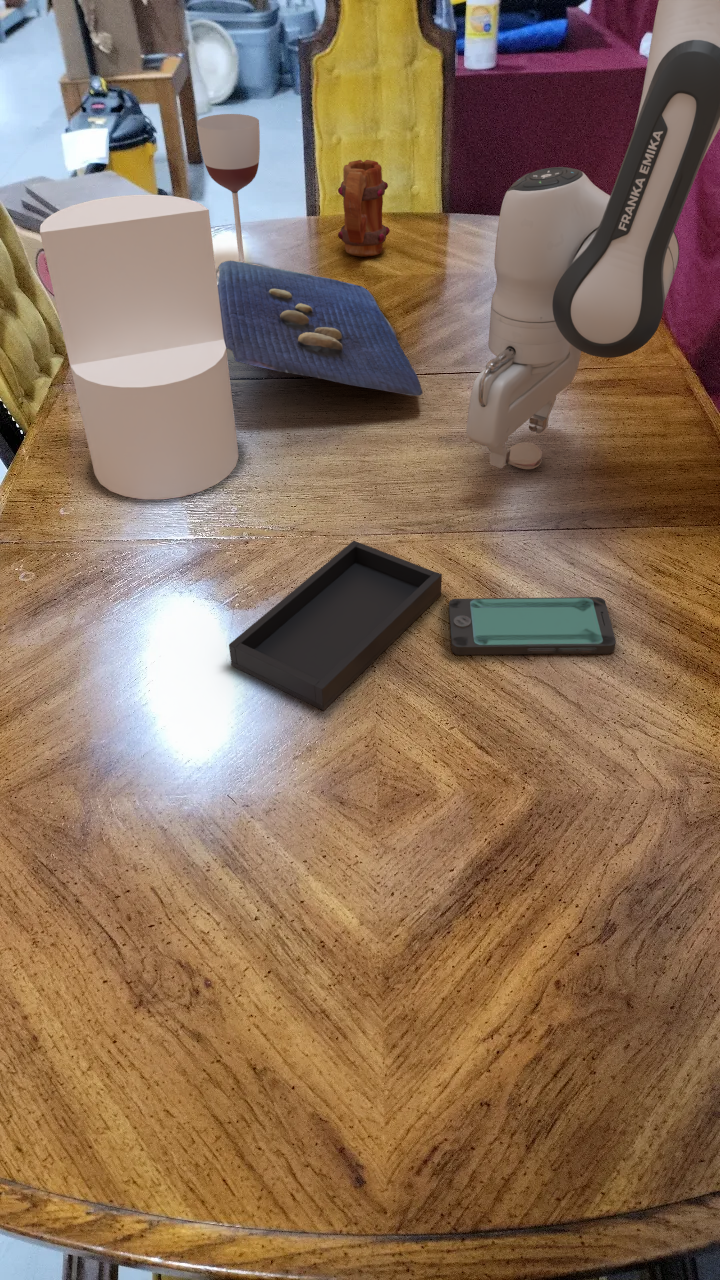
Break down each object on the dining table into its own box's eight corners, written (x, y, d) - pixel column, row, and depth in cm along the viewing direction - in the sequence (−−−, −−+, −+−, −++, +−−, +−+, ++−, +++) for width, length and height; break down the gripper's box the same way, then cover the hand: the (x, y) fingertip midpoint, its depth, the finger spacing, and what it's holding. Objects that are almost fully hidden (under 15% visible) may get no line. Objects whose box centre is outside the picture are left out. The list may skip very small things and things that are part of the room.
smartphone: (448, 597, 96) (604, 595, 96) (448, 607, 97) (602, 605, 97) (452, 646, 91) (617, 645, 90) (452, 657, 91) (615, 655, 91)
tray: (441, 595, 98) (442, 574, 97) (323, 711, 86) (322, 689, 85) (354, 560, 103) (353, 540, 101) (231, 665, 91) (228, 644, 89)
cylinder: (84, 441, 124) (31, 207, 105) (219, 415, 128) (190, 186, 110) (106, 512, 111) (50, 261, 93) (255, 481, 115) (229, 235, 97)
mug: (347, 242, 176) (344, 150, 166) (392, 244, 174) (392, 152, 165) (328, 272, 165) (324, 176, 155) (376, 275, 164) (375, 178, 154)
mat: (195, 317, 158) (206, 243, 151) (359, 347, 165) (376, 278, 159) (210, 437, 122) (225, 347, 116) (419, 469, 130) (444, 386, 124)
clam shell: (544, 473, 115) (546, 454, 114) (502, 476, 115) (503, 457, 113) (535, 454, 119) (537, 436, 117) (494, 457, 118) (496, 439, 117)
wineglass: (246, 258, 171) (232, 110, 156) (282, 273, 165) (271, 121, 150) (202, 272, 166) (184, 121, 151) (239, 288, 160) (223, 133, 146)
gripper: (510, 376, 98) (499, 495, 107) (597, 307, 111) (581, 418, 120) (455, 361, 101) (449, 478, 110) (546, 295, 114) (534, 405, 123)
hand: (518, 446), depth 115 cm, fingers open, 8 cm apart
